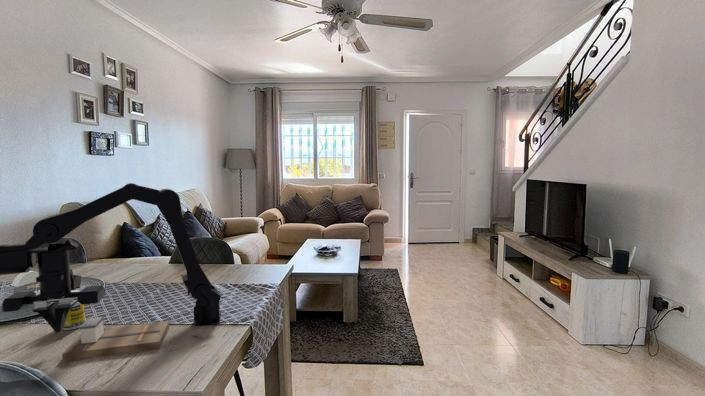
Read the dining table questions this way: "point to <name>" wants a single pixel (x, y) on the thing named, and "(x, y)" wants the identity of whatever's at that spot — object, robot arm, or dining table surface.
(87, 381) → the dining table surface
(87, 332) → the fader tab
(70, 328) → the supplement bottle
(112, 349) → the fader console
